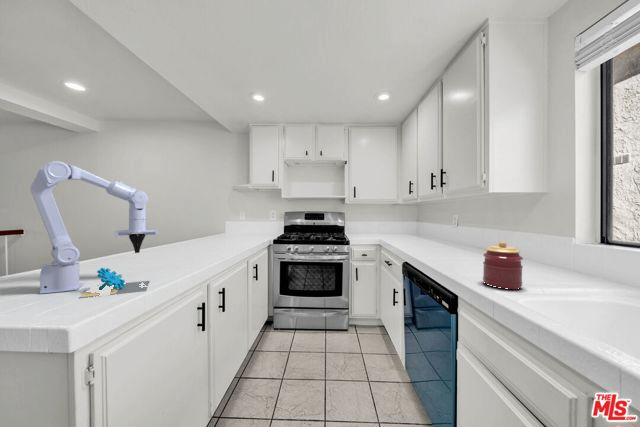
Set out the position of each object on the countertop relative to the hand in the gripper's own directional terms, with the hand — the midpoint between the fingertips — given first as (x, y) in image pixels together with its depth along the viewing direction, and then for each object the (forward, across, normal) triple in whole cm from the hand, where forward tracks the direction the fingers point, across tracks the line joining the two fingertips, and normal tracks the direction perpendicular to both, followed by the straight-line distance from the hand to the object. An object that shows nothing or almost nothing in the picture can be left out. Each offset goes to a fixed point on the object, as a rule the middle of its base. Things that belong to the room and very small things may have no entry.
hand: (137, 252), depth 110 cm
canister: (+11, +128, -74) cm, 148 cm away
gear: (+11, -6, -15) cm, 19 cm away
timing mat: (+11, -4, -15) cm, 19 cm away
